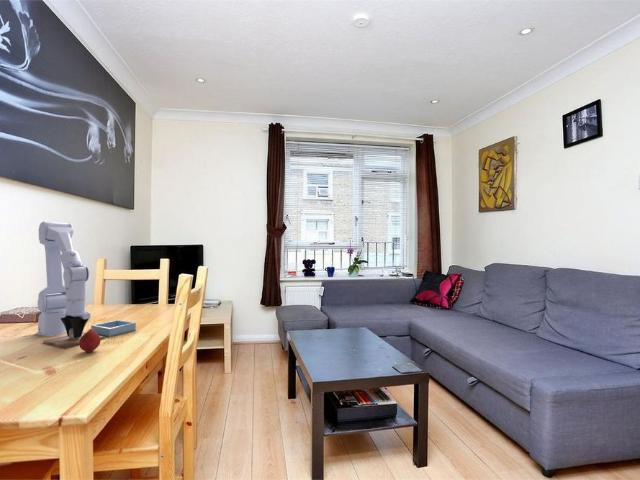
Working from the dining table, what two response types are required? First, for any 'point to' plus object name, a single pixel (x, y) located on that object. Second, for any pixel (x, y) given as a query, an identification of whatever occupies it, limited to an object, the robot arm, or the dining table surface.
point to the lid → (66, 340)
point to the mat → (61, 347)
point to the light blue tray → (114, 328)
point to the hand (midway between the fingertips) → (74, 336)
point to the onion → (89, 341)
